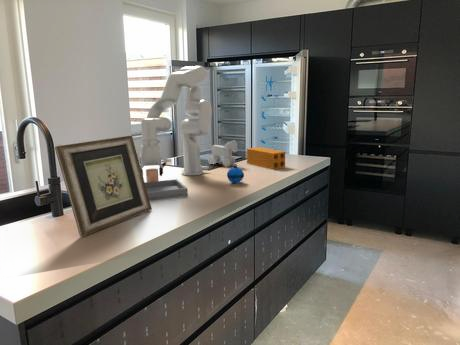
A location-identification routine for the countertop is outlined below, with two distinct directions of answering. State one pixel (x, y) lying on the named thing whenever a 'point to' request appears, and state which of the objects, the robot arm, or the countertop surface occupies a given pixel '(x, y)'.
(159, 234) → the countertop surface
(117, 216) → the picture frame
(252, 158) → the brick
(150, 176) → the terracotta cup
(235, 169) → the ornament
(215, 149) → the pony
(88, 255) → the countertop surface
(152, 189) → the grey square tray
